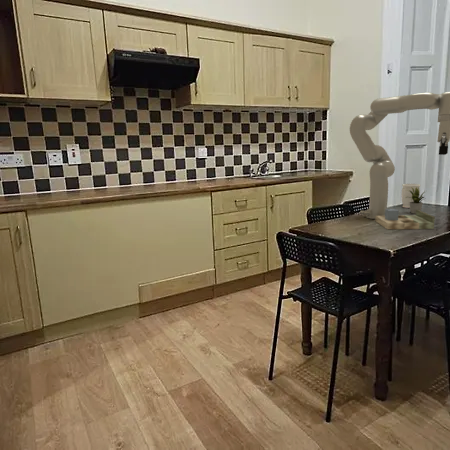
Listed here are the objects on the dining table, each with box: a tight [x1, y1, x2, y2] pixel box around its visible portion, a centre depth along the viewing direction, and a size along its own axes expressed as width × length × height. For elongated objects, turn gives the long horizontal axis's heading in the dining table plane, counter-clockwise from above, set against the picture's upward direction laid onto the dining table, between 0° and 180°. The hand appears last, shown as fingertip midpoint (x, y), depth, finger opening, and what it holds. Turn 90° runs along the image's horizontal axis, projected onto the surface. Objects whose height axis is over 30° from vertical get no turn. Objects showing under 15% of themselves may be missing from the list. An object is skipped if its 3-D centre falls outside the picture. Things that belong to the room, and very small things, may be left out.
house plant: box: [404, 187, 426, 215], centre depth 222 cm, size 14×14×16 cm
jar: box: [401, 183, 421, 209], centre depth 240 cm, size 11×10×15 cm
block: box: [385, 208, 400, 220], centre depth 192 cm, size 5×5×5 cm
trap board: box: [374, 210, 436, 230], centre depth 192 cm, size 22×20×6 cm
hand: (443, 154), depth 185 cm, fingers open, 9 cm apart
